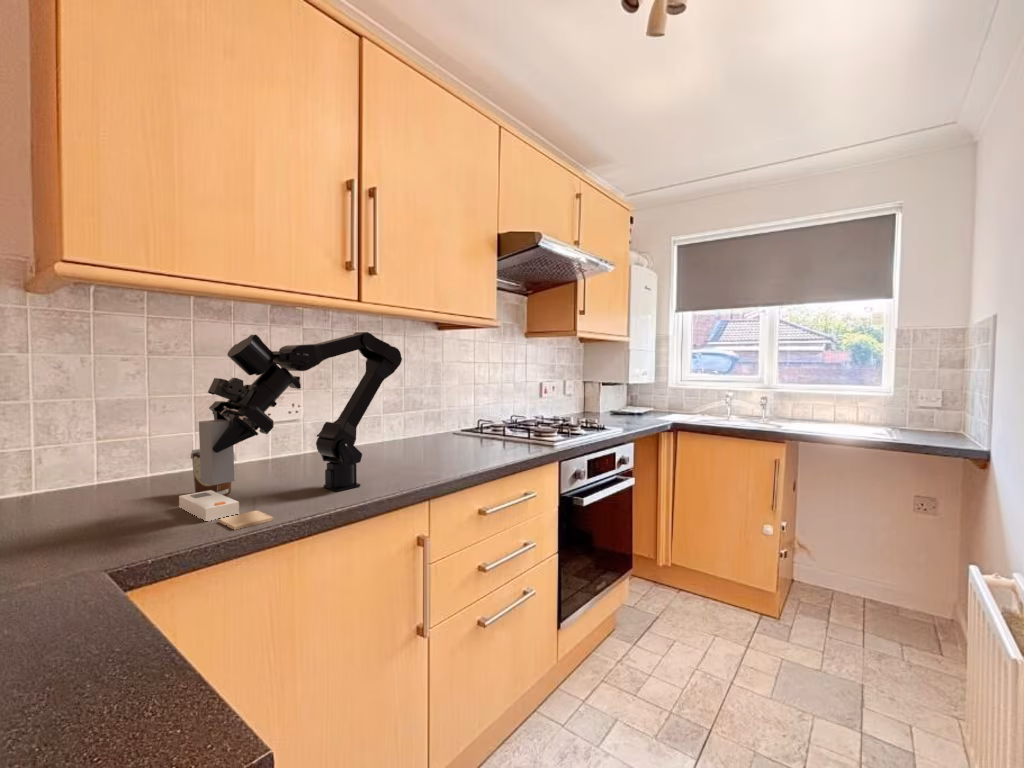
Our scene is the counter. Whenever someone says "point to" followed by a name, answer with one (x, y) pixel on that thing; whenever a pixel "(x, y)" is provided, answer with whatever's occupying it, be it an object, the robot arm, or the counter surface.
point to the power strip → (209, 505)
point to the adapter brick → (211, 463)
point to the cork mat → (245, 519)
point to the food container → (201, 486)
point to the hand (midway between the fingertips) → (209, 449)
